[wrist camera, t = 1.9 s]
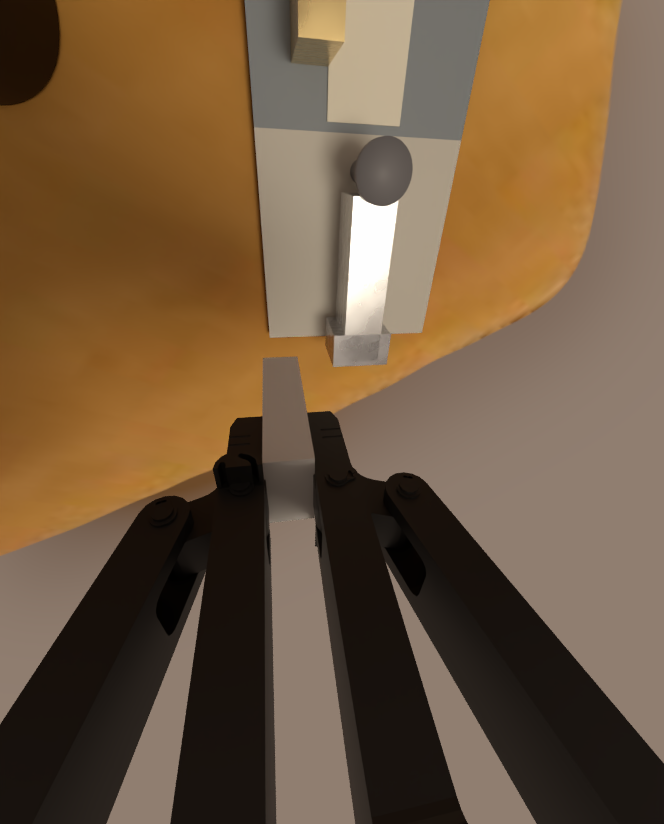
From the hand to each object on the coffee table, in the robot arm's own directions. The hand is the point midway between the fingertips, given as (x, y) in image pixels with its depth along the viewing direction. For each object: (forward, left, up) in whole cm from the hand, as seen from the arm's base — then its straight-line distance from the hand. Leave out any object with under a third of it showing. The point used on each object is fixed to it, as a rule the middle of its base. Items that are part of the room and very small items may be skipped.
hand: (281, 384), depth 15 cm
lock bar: (+6, +1, -14) cm, 15 cm away
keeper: (+3, +15, -15) cm, 21 cm away
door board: (+6, +9, -16) cm, 19 cm away
